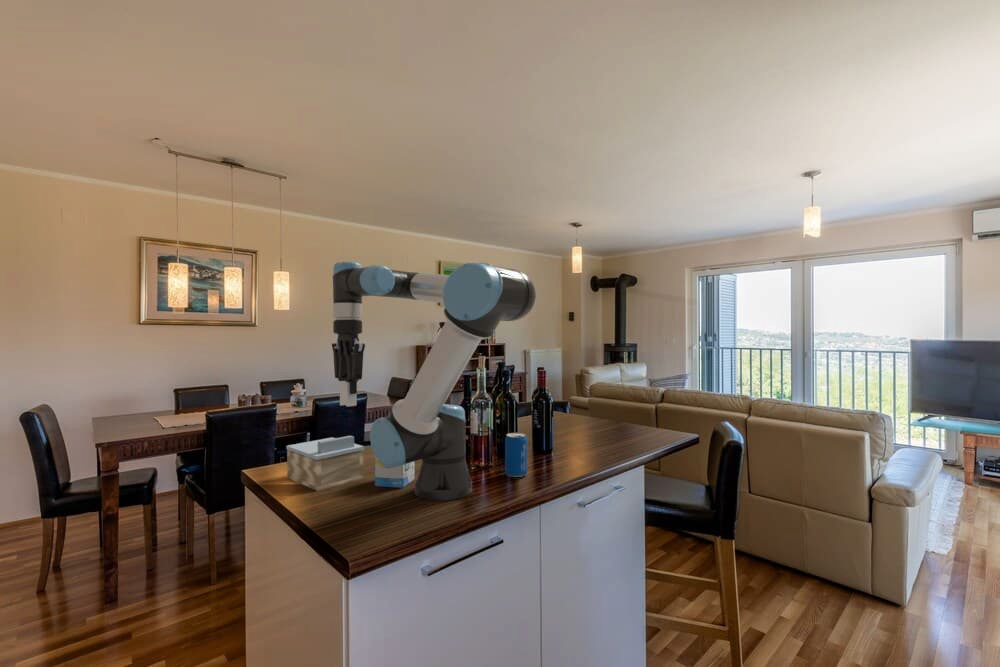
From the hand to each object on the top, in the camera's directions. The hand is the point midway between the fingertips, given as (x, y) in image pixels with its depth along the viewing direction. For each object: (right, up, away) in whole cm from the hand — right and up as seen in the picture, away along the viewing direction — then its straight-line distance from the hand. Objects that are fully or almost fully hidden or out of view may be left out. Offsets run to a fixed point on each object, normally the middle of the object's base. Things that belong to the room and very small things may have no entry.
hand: (348, 405), depth 125 cm
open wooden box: (-10, -23, +9) cm, 26 cm away
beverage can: (+46, -23, +10) cm, 52 cm away
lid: (-10, -14, +9) cm, 19 cm away
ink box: (+12, -23, +4) cm, 26 cm away
